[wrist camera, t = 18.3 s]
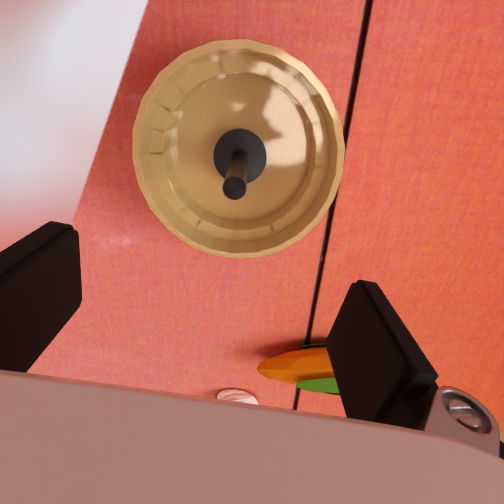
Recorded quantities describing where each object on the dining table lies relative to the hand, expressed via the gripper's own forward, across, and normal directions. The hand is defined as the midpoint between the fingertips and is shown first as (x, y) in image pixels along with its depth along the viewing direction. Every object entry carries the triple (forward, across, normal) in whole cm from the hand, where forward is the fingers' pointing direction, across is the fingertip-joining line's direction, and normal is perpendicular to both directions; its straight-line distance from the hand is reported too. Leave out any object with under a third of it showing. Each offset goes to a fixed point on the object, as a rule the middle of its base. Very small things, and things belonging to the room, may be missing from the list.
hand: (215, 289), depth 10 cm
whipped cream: (+28, -8, +44) cm, 52 cm away
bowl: (+28, 0, 0) cm, 28 cm away
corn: (+28, -19, +29) cm, 44 cm away
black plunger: (+28, 0, 0) cm, 28 cm away
